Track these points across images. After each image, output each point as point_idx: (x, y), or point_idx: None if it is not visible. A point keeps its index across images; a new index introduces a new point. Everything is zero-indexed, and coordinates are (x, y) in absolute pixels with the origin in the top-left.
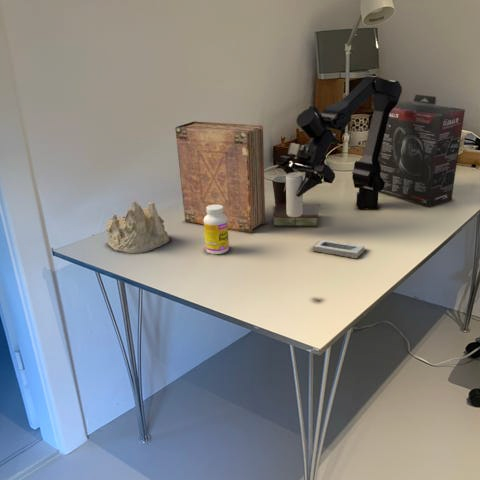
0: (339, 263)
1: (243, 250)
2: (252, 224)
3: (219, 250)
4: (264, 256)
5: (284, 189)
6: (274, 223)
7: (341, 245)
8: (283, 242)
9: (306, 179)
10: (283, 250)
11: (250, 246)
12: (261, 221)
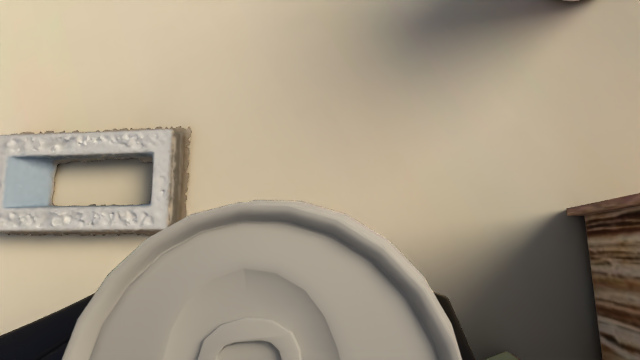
0: (63, 77)
1: (461, 13)
2: (604, 241)
3: None
4: (345, 4)
5: (444, 309)
6: (509, 353)
7: (76, 206)
8: (345, 168)
9: (3, 358)
10: (303, 89)
11: (460, 62)
12: (608, 357)
